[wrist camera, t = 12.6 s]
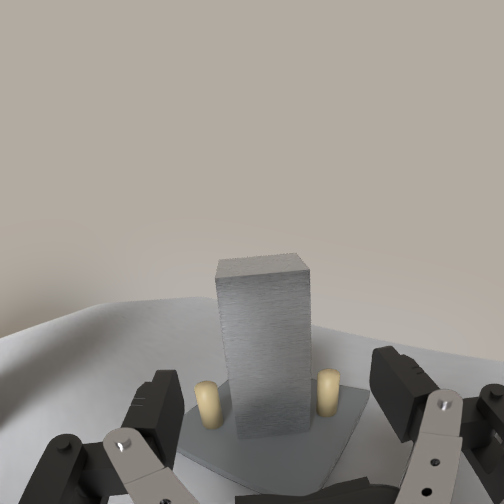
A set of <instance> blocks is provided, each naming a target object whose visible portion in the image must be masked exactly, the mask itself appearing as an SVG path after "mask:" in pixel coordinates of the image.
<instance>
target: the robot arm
mask: <svg viewBox="0 0 504 504" xmlns="http://www.w3.org/2000/svg"><path fill="white" fill-rule="evenodd" d="M369 382H370V389H371V392H372V394H373V395H374V397H375V399H376V400H377V402H378V404H379V405H380V407H381V409H382V411H383V412H384V414H385V416H386V417H387V419H388V421H389V422H390V424H391V426H392V428H393V429H394V431H395V433H396V434H397V436H398V438H399V440H400V441H401V443H404V442H407V441H410V440H412V441H413V443H414V444H413V447H412V450H411V453H410V456H409V459H408V462H407V465H406V467H405V470H404V473H403V476H402V478H401V481H400V483H399V486H398V487H395V486H390V485H383V484H370V483H369V480H368V478H367V477H363V478H359V479H355V480H351V481H346V482H342V483H337V484H334V485H332V486H329V487H327V488H325V489H322V490H319V491H317V492H314V493H312V494H309V495H306V496H289V495H276V494H261V495H246V496H235V504H450V502H451V498H452V494H453V490H454V485H455V481H456V476H457V471H458V465H459V460H460V453H461V451H462V452H463V453H464V455H465V457H466V458H467V460H468V461H469V463H470V465H471V466H472V468H473V469H474V471H475V473H476V474H477V476H478V478H479V479H480V481H481V482H482V484H483V486H484V487H485V489H486V491H487V493H488V494H489V496H490V498H491V499H492V501H493V503H494V504H504V448H503V447H502V446H501V444H500V443H499V442H498V440H497V439H496V438H495V437H494V436H495V434H496V432H497V433H498V435H499V436H500V437H501V439H502V440H503V441H504V386H503V385H500V384H489V385H486V386H484V387H483V388H482V390H481V392H480V395H479V397H473V398H465V399H462V397H461V396H460V395H459V394H458V393H457V392H455V391H452V390H448V389H440V388H439V387H438V386H437V385H436V384H435V383H434V382H433V380H432V379H431V378H430V377H429V376H428V375H427V374H426V373H424V370H423V369H422V368H421V367H419V365H418V364H417V363H416V362H415V361H414V359H412V358H410V357H408V356H406V355H404V354H403V355H400V354H399V353H398V352H397V351H396V350H395V349H394V347H393V346H386V347H381V348H376V349H374V350H373V354H372V362H371V371H370V381H369ZM183 417H184V399H183V395H182V391H181V387H180V383H179V379H178V375H177V372H176V370H157V371H156V373H155V376H154V378H153V381H152V382H145V383H144V384H143V385H142V386H140V387H139V388H138V389H137V391H136V394H135V396H134V399H133V400H132V403H131V406H130V407H129V410H128V412H127V414H126V416H125V419H124V421H123V423H122V426H121V428H118V429H115V430H113V431H111V432H110V433H108V434H107V435H106V436H105V438H104V440H103V442H98V443H89V444H82V442H81V440H80V439H79V438H78V437H77V436H75V435H73V434H61V435H58V436H56V437H55V438H53V439H52V440H51V441H50V442H49V444H48V445H47V447H46V449H45V451H44V453H43V455H42V457H41V459H40V460H39V462H38V464H37V466H36V468H35V470H34V472H33V474H32V476H31V478H30V480H29V482H28V484H27V486H26V488H25V491H24V493H23V495H22V497H21V499H20V501H19V503H18V504H108V500H109V496H114V495H123V494H129V495H130V497H131V498H132V500H133V502H134V503H135V504H200V503H199V502H198V501H197V500H196V499H195V498H194V497H193V496H192V494H191V493H190V492H189V491H188V490H187V489H186V488H185V486H184V485H183V484H182V483H181V482H180V480H179V479H178V478H177V477H176V476H175V474H174V473H173V472H172V471H173V466H174V461H175V455H176V450H177V446H178V441H179V436H180V431H181V426H182V421H183Z"/></svg>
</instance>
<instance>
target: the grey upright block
mask: <svg viewBox="0 0 504 504" xmlns="http://www.w3.org/2000/svg"><path fill="white" fill-rule="evenodd" d="M215 282H216V290H217V297H218V306H219V314H220V322H221V329H222V337H223V344H224V351H225V358H226V365H227V372H228V379H229V385H230V392H231V398H232V405H233V411H234V417H235V423H236V429H237V435H238V440H241V439H254V438H265V437H274V436H283V435H291V434H298V433H305V432H309V431H310V399H311V302H310V301H311V300H310V269H309V268H308V267H307V266H306V264H305V263H304V262H303V261H302V260H301V258H300V257H299V256H298V255H297V253H290V254H280V255H268V256H258V257H247V258H235V259H224V260H219V263H218V267H217V272H216V276H215Z"/></svg>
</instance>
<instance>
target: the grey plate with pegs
mask: <svg viewBox="0 0 504 504" xmlns="http://www.w3.org/2000/svg"><path fill="white" fill-rule="evenodd" d="M339 382H340V373H339V372H338V371H337V370H334V369H324V370H321V371H320V372H319V373H318V375H317V380H313V379H311V399H310V431H309V432H305V433H298V434H291V435H283V436H274V437H265V438H254V439H241V440H238V435H237V429H236V423H235V417H234V411H233V405H232V398H231V392H230V385H229V380H227V381H226V382H225V383H224V384H222V385H221V386H220V387H219V388H218V389H217V385H216V383H214V382H211V381H203V382H200V383H198V384H197V385H196V386H195V388H194V390H195V394H196V399H197V403H198V405H196V406H195V407H194V408H192V409H191V410H190V411H189V412H187V413H186V414H185V415H184V417H183V421H182V426H181V431H180V436H179V441H178V446H177V450H176V451H177V452H179V453H181V454H182V455H184V456H186V457H188V458H190V459H191V460H193V461H195V462H197V463H199V464H200V465H202V466H204V467H206V468H208V469H210V470H212V471H214V472H216V473H218V474H220V475H222V476H224V477H226V478H228V479H230V480H232V481H234V482H237V483H239V484H241V485H243V486H245V487H248V488H250V489H252V490H255V491H257V492H259V493H262V494H276V495H289V496H306V495H309V494H312V493H314V492H317V491H319V490H321V488H322V486H323V485H324V483H325V481H326V480H327V478H328V476H329V475H330V473H331V471H332V469H333V468H334V466H335V464H336V462H337V461H338V459H339V457H340V455H341V453H342V451H343V450H344V448H345V446H346V444H347V442H348V440H349V438H350V436H351V434H352V432H353V430H354V428H355V426H356V424H357V422H358V420H359V418H360V416H361V414H362V412H363V410H364V407H365V405H366V403H367V401H368V399H369V394H370V391H368V390H363V389H357V388H352V387H347V386H342V385H339Z"/></svg>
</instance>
